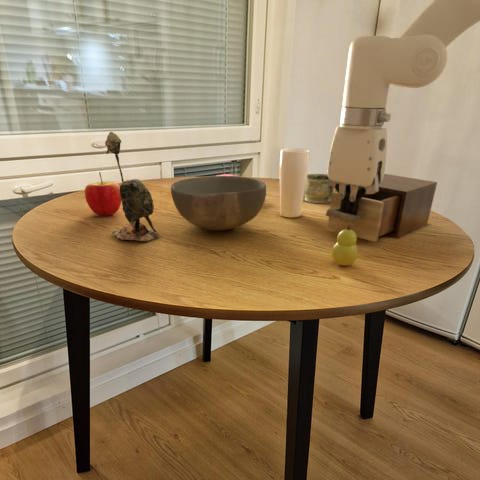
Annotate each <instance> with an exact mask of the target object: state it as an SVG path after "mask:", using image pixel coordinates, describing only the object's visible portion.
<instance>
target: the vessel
mask: <svg viewBox="0 0 480 480" xmlns="http://www.w3.org/2000/svg"><path fill="white" fill-rule="evenodd" d="M328 179H329V178H328V175H327V173H308V175H307V181H306V187H305V192H304V198H303V201H305V202H309V203H313V204H327V203H331V195H332V192H337V190H336V188H333V187H331V186H330V185H328V183H327V182H328Z"/></svg>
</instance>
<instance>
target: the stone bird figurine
mask: <svg viewBox="0 0 480 480" xmlns="http://www.w3.org/2000/svg"><path fill="white" fill-rule="evenodd" d="M104 142H105V144H104V145H105V147H106V148H107V150H106V155H108V154H109V153H112V154H114V155H115V156H114V157H115V160H116V162H117V166H118V169H119V174H120V178H121V182H122V183H120V185H119V190H120V196H121V205H122V211H123V212H124V217H125V218H126V220H127V221H128V223H125V224H124V225H121V228H120V229H118V230H115V231H112V232H111V234H112V235H113V236H114V237H117V238H118V239H120V240H121V241H123V240H128V241H140V242H150V240H151V241H152V240H156V239H157V238H158V237H159V232H158V230H157V229H156V228H155V227H154V225H153V223H152V221H151V218H150V216H151V215H153V213H154V209H155V205H154V199H153V198H152V194H151V192H150V191H149V189H148V187H147V186H146V185H145V184H144V182H142V181H141V180H140V179H138V178H133V179H127V180H124V176H123V172H122V168H121V164H120V157H119V154H120V152H121V145H122V139H121V138H120V137H119V136H118V135H117V134H116V133H115V132H114V131H110V132H109V133H108V135H107V137H106V140H105V141H104ZM142 218H144V219H145V220H146V222H147V223H148V226H150V229H148V228H147V226H146V225H145V224H144V223H142V222H141V219H142Z"/></svg>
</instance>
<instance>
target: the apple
mask: <svg viewBox="0 0 480 480" xmlns="http://www.w3.org/2000/svg"><path fill="white" fill-rule="evenodd" d="M98 174H99V179H100V181H98V182H93V183H89V184H87V185H86V186H85V188H84V198H85V201H86V203H87V205H88V207H89V209H90V210H91V211H92V212H93V213H95V214H96V215H97V216H102V217H103V216H104V217H106V216H112V215H114V214H116V213H117V212H118V211H119V209H120V207H121V205H122V201H121V196H120V190H119V187H120V185H119V184H118V183H117V182H116V181H111V180H104V181H103V179H102V174H101V172H98Z"/></svg>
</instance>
